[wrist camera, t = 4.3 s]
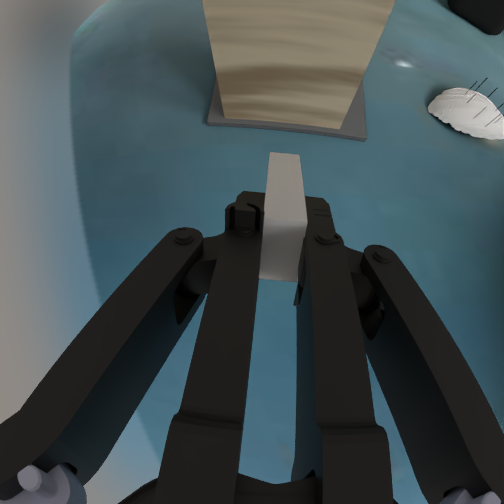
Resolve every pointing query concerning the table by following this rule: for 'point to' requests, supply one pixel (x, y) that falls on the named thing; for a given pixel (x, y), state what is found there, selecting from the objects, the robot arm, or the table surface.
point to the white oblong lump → (469, 113)
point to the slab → (292, 56)
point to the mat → (349, 129)
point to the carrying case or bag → (481, 13)
